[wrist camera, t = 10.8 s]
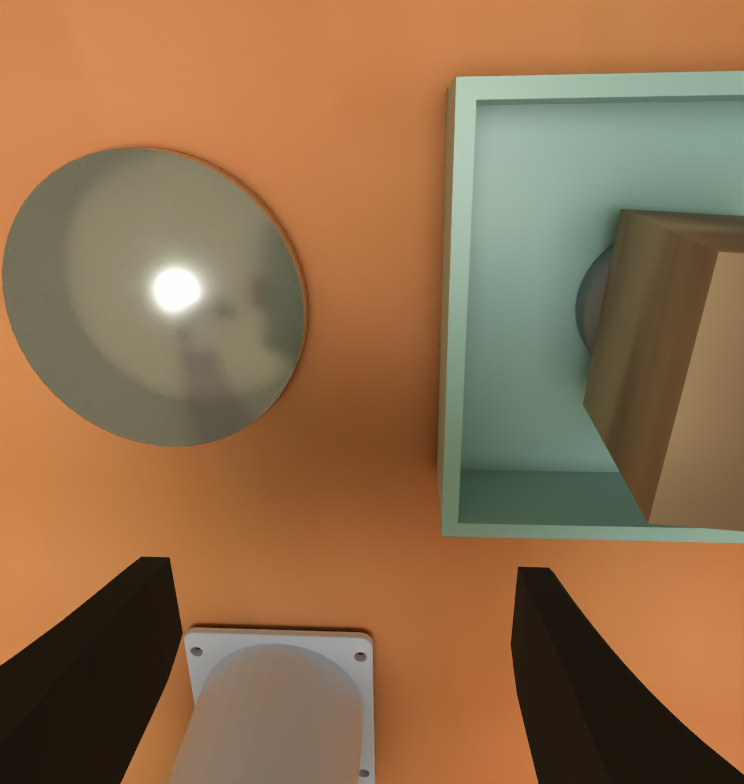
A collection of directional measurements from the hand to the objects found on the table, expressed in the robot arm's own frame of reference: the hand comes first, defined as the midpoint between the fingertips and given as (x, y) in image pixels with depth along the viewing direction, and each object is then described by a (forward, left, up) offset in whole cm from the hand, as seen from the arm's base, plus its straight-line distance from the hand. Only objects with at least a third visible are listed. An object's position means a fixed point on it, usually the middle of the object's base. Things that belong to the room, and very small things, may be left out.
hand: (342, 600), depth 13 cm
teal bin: (+4, -9, -10) cm, 14 cm away
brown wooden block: (+4, -9, -10) cm, 14 cm away
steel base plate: (+4, +7, -10) cm, 13 cm away
